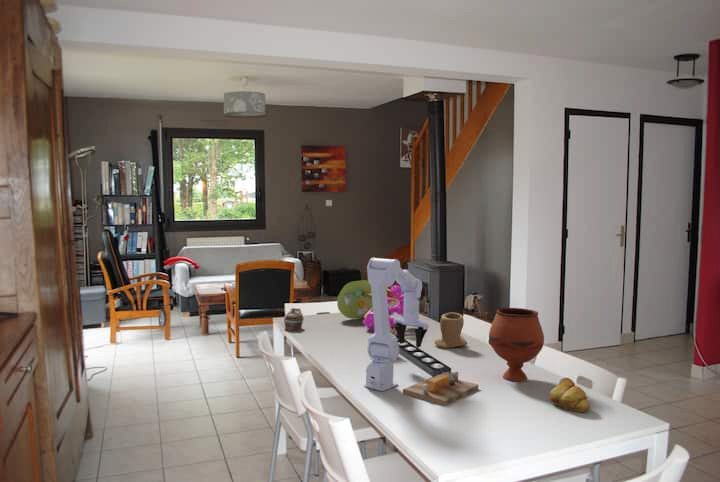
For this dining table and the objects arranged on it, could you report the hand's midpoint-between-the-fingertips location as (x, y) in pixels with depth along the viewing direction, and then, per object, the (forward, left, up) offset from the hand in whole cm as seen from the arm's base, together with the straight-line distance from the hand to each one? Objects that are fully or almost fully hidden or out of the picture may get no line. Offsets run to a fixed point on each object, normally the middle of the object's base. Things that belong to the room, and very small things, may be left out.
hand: (410, 345), depth 211 cm
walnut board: (-13, -22, -9) cm, 27 cm away
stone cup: (+42, +6, -10) cm, 44 cm away
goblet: (+18, -34, -10) cm, 40 cm away
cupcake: (+16, +80, -10) cm, 83 cm away
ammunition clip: (+8, +18, -10) cm, 22 cm away
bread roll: (+2, -60, -10) cm, 60 cm away
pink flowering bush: (+52, +57, -10) cm, 78 cm away
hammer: (-14, -22, -8) cm, 27 cm away
